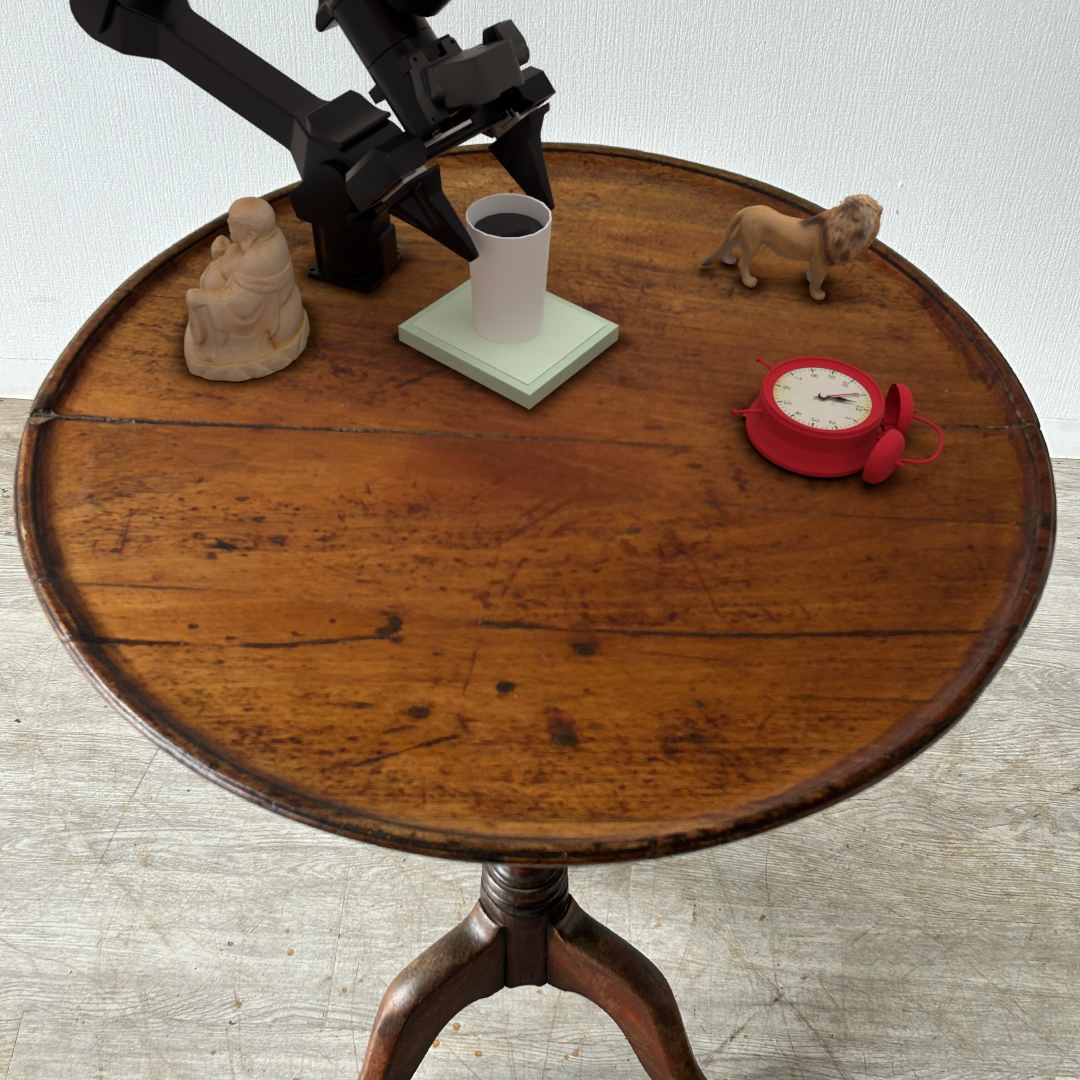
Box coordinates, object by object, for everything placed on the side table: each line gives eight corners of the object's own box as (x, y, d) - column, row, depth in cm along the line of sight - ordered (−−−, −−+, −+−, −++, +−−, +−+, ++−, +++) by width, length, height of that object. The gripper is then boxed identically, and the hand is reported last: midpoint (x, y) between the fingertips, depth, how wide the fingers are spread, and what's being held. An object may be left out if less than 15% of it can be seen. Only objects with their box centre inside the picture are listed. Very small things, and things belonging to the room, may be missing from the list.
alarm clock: (757, 338, 90) (956, 350, 83) (761, 402, 94) (951, 418, 88) (721, 416, 83) (934, 435, 77) (727, 481, 87) (930, 504, 81)
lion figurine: (862, 274, 103) (886, 184, 96) (863, 307, 99) (888, 216, 93) (701, 255, 104) (715, 165, 98) (697, 287, 101) (710, 195, 94)
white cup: (552, 304, 96) (557, 197, 88) (542, 351, 91) (546, 242, 84) (475, 296, 96) (473, 189, 89) (461, 343, 91) (457, 234, 84)
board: (399, 340, 94) (397, 324, 93) (491, 279, 101) (491, 263, 100) (529, 410, 88) (529, 393, 87) (618, 339, 95) (619, 323, 94)
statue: (332, 264, 83) (192, 231, 80) (298, 408, 92) (171, 382, 89) (339, 182, 91) (212, 149, 88) (307, 321, 101) (191, 295, 98)
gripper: (359, 33, 72) (492, 246, 75) (540, -46, 82) (649, 145, 86) (290, 114, 81) (412, 301, 84) (461, 33, 91) (563, 203, 95)
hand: (513, 234), depth 87 cm, fingers open, 9 cm apart
